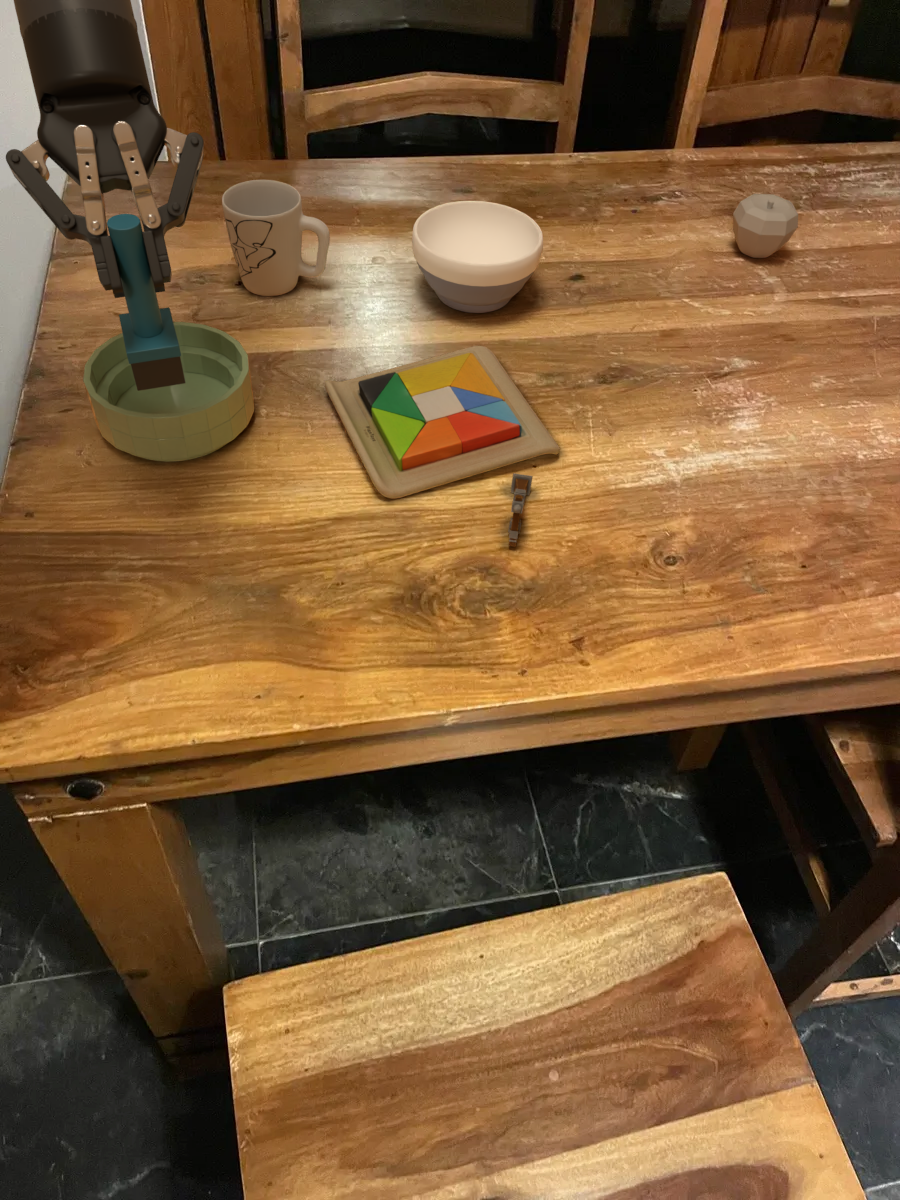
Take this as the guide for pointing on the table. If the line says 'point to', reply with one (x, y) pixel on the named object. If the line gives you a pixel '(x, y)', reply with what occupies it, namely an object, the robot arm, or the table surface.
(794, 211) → the apple
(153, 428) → the wash bowl
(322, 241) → the mug
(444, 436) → the wooden puzzle
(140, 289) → the teal peg on base
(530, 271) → the bowl
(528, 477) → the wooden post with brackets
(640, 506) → the table surface
